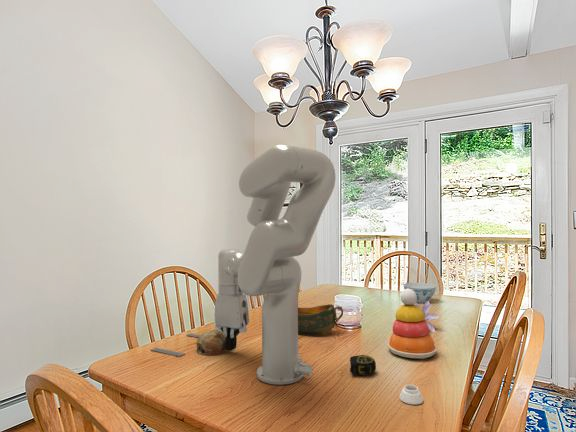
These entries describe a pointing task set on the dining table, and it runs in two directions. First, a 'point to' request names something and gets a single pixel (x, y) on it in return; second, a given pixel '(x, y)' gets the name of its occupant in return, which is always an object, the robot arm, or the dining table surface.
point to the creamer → (317, 320)
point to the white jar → (411, 395)
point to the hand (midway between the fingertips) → (231, 349)
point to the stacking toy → (411, 330)
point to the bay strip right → (193, 335)
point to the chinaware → (421, 290)
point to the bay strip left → (168, 352)
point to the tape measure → (362, 365)
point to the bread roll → (211, 343)
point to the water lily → (428, 315)
